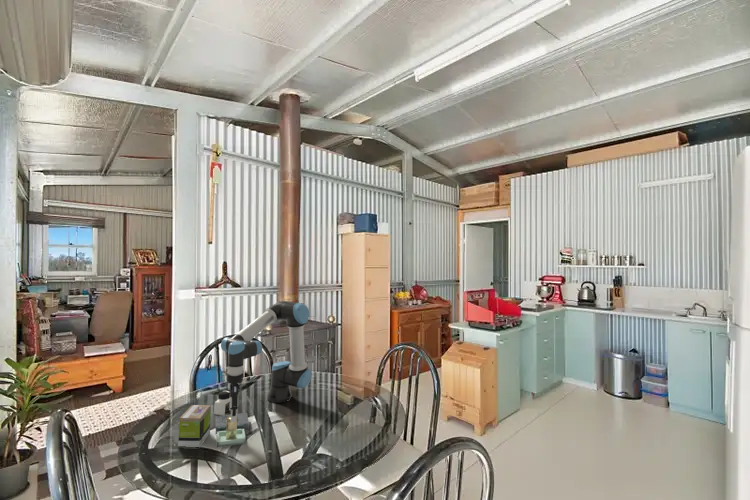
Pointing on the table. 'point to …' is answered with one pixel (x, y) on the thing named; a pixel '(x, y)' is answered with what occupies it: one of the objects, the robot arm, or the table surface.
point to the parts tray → (223, 442)
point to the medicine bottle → (222, 403)
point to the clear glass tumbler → (231, 429)
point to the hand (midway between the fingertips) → (232, 415)
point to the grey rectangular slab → (241, 422)
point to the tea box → (194, 426)
